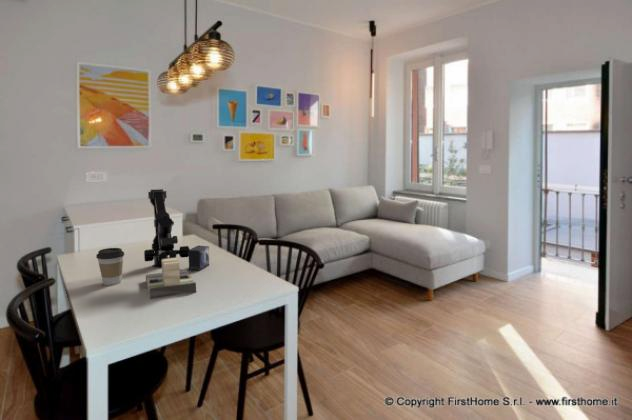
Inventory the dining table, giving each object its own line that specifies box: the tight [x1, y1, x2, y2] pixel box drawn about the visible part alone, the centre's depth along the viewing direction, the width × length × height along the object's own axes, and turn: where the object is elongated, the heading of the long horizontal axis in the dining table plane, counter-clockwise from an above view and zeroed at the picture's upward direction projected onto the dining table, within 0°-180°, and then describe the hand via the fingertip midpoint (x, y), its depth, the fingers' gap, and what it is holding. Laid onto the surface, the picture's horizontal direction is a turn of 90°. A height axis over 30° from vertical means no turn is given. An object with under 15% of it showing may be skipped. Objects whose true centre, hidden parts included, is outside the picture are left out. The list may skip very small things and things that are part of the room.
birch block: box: [161, 256, 180, 286], centre depth 170 cm, size 9×6×10 cm, turn 26°
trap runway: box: [145, 269, 197, 300], centre depth 176 cm, size 25×18×4 cm
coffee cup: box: [95, 247, 125, 286], centre depth 180 cm, size 11×11×15 cm
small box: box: [188, 245, 210, 272], centre depth 204 cm, size 11×6×10 cm, turn 168°
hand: (169, 270), depth 175 cm, fingers closed, pressing on birch block
